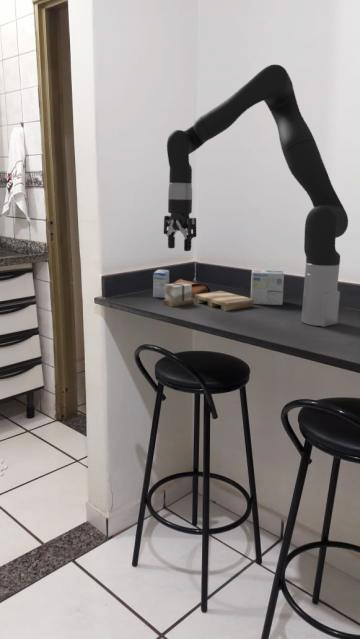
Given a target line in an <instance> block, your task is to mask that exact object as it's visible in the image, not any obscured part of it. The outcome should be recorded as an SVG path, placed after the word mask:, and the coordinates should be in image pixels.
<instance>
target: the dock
mask: <svg viewBox="0 0 360 639" xmlns="http://www.w3.org/2000/svg"><path fill="white" fill-rule="evenodd" d="M193 299H194V303H197V304H205V303H207V307H211V308H213V307H220V310H221V311H224V312H226V311H233V310H238V309H244V308H250V307H253V305H254V304H253V302H254V299H252V298H251V297H247V296H243V295H239V294H237V293H236V294H235V293H231V292H227V291H223V290H218V291H217V290H216V291H210V293H202V294H195V295H194V297H193Z"/></svg>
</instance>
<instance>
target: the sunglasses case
mask: <svg viewBox="0 0 360 639" xmlns="http://www.w3.org/2000/svg"><path fill="white" fill-rule="evenodd" d="M173 283H186V284H190V285H192V288H191V298H194V295H195V294H202V293H210V292H211V289H210V287H209V286H208V285H205V284H203V283H196V282H194V281H189V280H185V279H182V278H178V280H175V281H174V282H173Z"/></svg>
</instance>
